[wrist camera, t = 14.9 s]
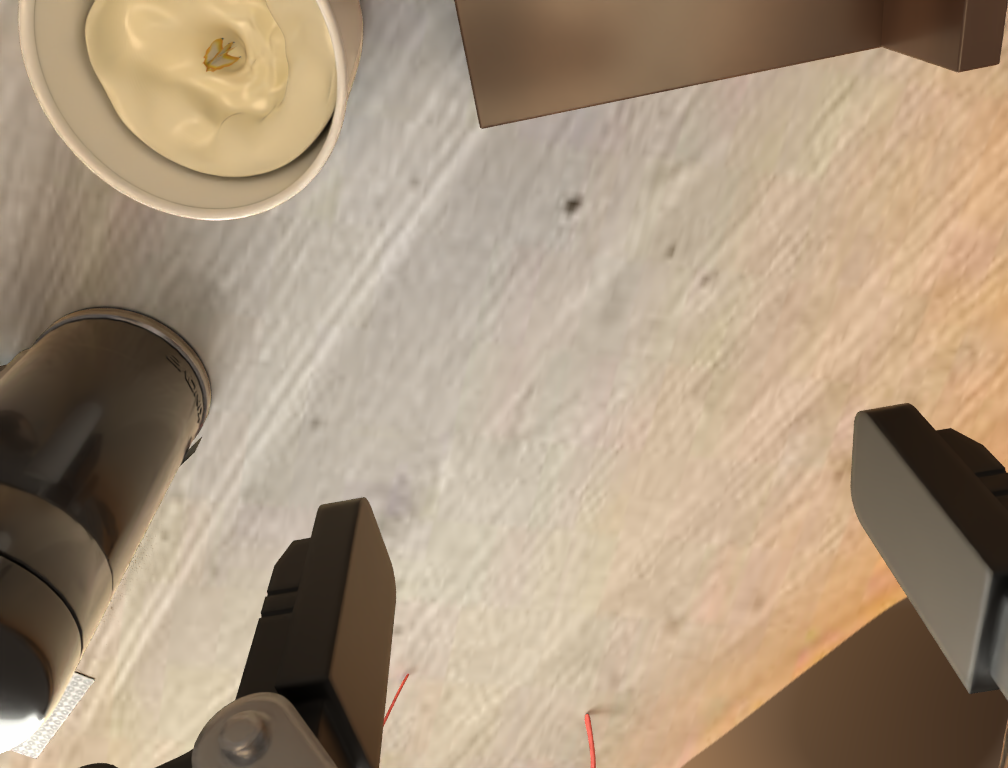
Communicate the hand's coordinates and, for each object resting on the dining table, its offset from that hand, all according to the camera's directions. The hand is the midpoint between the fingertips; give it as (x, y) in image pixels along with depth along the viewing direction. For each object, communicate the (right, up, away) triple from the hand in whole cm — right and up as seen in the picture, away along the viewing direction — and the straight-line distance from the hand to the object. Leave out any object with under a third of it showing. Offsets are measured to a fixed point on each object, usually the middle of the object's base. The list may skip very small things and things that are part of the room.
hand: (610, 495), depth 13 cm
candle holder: (-12, +18, +22) cm, 31 cm away
